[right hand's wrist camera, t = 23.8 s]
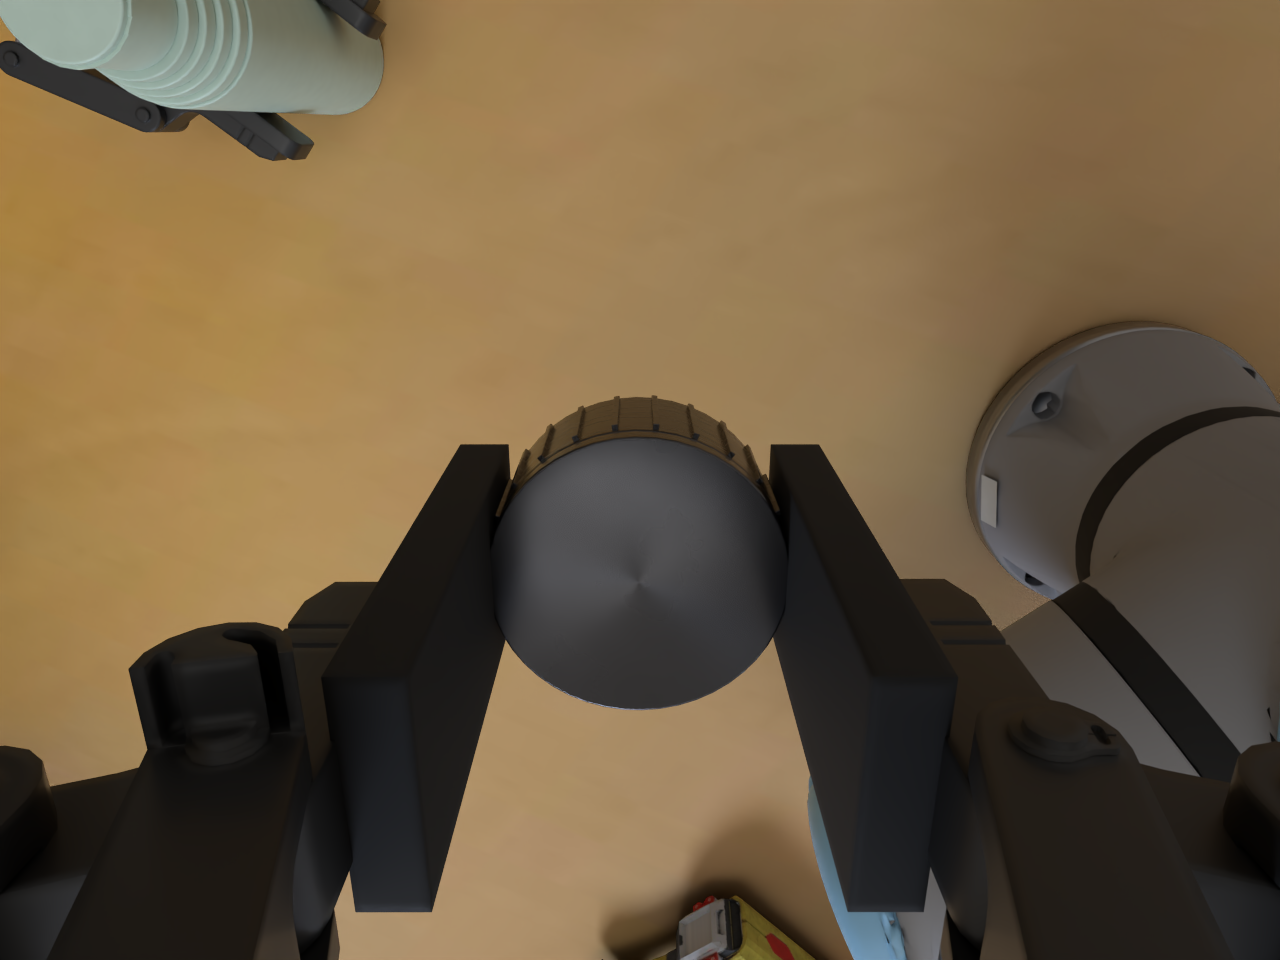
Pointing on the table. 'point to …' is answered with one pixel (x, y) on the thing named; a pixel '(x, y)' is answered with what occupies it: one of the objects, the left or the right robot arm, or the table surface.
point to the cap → (638, 555)
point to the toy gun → (731, 934)
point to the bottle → (209, 51)
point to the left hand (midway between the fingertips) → (338, 90)
